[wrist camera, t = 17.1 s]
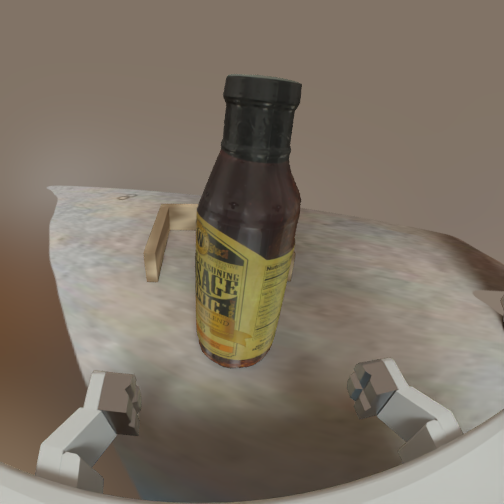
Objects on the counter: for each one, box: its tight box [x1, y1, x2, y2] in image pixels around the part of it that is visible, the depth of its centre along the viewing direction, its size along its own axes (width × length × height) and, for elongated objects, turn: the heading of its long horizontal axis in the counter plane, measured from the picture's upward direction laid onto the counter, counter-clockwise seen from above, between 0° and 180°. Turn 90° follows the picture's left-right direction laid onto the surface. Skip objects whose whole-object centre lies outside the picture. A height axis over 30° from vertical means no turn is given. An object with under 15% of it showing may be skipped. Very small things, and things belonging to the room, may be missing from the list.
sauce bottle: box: [195, 74, 302, 368], centre depth 19 cm, size 6×6×20 cm
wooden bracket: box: [144, 204, 295, 282], centre depth 36 cm, size 16×14×4 cm
